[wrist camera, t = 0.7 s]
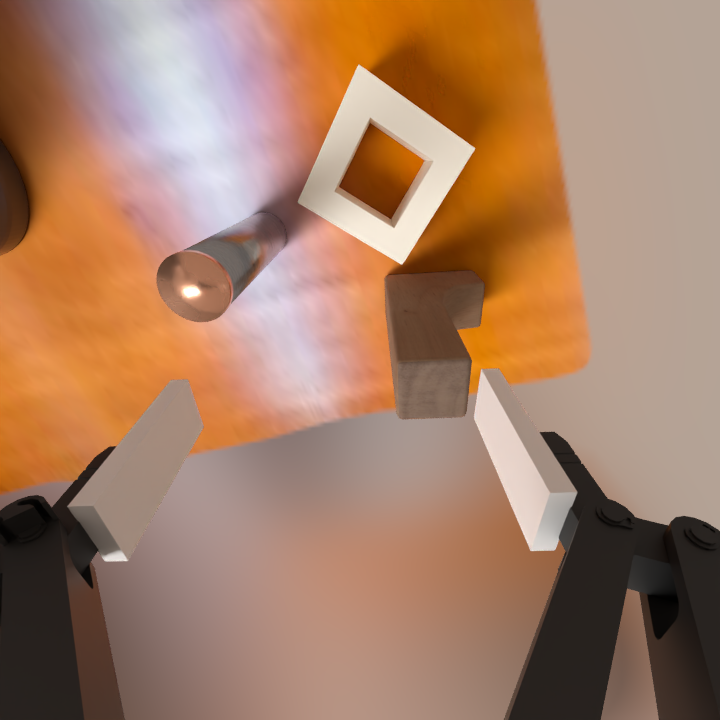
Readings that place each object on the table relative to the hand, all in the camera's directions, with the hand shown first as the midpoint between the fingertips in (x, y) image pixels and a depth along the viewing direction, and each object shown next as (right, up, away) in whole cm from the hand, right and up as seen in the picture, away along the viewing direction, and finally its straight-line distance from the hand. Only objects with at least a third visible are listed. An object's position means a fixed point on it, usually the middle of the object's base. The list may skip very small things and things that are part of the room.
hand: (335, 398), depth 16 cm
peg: (-8, +14, +19) cm, 25 cm away
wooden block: (+8, +9, +21) cm, 24 cm away
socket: (+3, +18, +16) cm, 24 cm away
